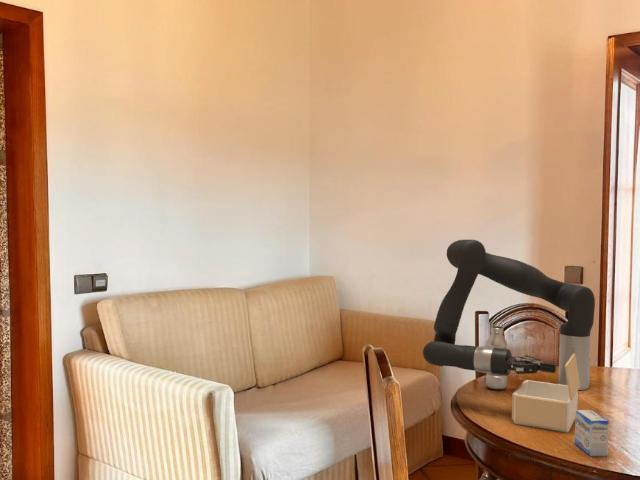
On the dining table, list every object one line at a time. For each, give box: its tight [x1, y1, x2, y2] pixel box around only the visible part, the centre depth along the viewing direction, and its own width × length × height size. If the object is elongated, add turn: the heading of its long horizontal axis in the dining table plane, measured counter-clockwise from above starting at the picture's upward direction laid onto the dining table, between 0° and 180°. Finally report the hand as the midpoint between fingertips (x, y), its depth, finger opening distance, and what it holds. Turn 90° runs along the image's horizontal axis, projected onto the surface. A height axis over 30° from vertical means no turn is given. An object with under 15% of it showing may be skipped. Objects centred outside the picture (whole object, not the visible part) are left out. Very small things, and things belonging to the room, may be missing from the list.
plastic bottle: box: [485, 325, 508, 390], centre depth 203 cm, size 6×7×20 cm
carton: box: [511, 379, 579, 433], centre depth 175 cm, size 17×15×8 cm
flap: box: [565, 354, 580, 400], centre depth 171 cm, size 15×9×1 cm
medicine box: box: [574, 409, 610, 457], centre depth 153 cm, size 8×4×9 cm, turn 5°
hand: (555, 368), depth 173 cm, fingers closed
